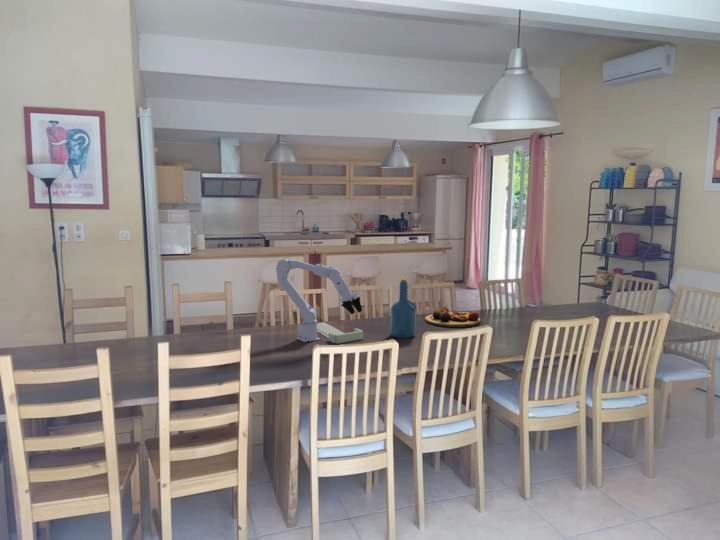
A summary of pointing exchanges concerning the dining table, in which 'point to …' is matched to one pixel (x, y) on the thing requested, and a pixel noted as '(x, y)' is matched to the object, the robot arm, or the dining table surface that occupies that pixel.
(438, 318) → the wooden plate with food
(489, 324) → the dining table surface
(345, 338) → the end cap
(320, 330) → the baseboard molding
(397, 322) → the wine bottle
